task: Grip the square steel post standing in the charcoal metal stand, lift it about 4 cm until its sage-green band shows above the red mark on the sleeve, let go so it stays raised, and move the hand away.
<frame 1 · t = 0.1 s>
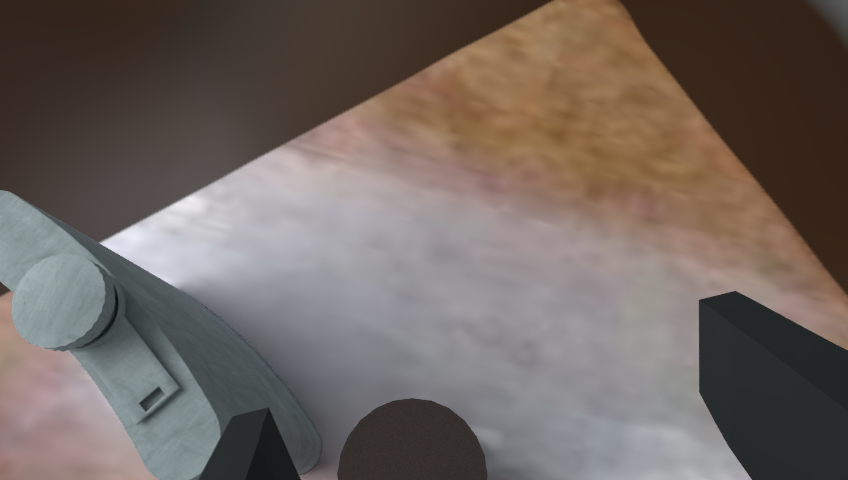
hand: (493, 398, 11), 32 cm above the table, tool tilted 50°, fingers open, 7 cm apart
hip flask: (235, 372, 45), on the table
deodorant: (435, 470, 42), on the table
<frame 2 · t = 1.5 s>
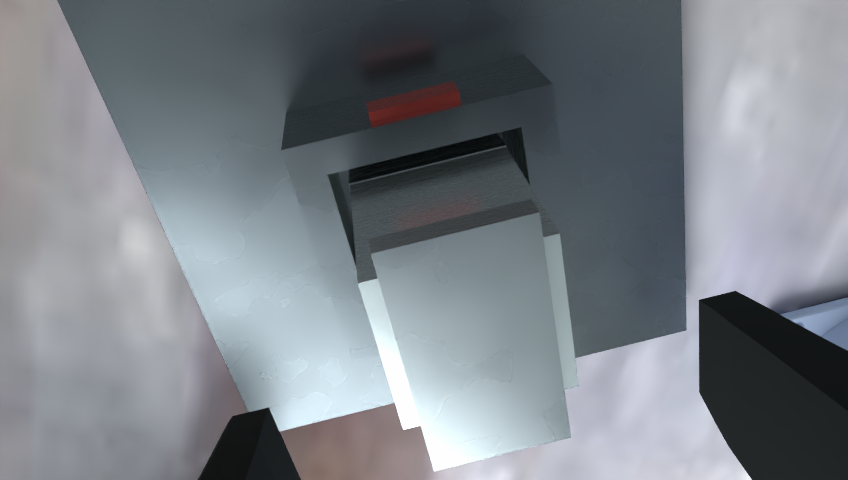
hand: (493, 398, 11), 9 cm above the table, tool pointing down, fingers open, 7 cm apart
column: (450, 256, 15), point 4 cm above the table, slide at 0.0 cm, touching jack stand
jack stand: (424, 175, 19), on the table
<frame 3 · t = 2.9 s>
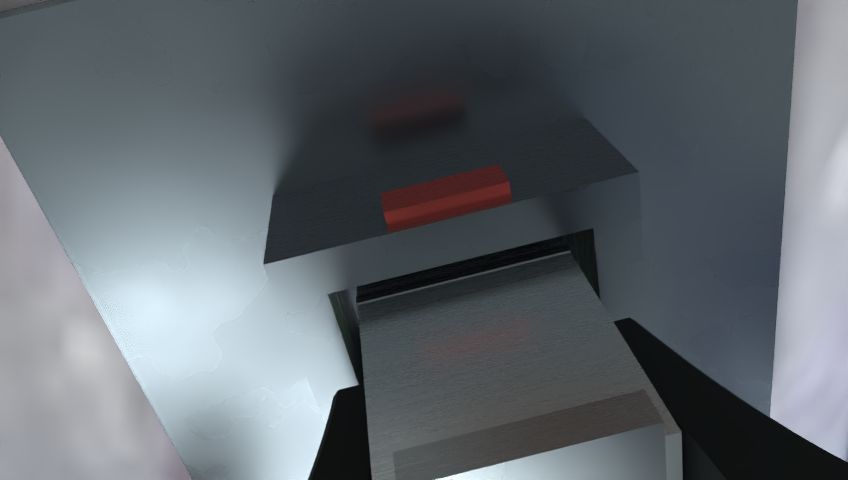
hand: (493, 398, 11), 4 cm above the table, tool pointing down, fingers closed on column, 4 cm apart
column: (495, 402, 11), point 4 cm above the table, slide at 0.0 cm, touching gripper, jack stand
jack stand: (450, 261, 15), on the table
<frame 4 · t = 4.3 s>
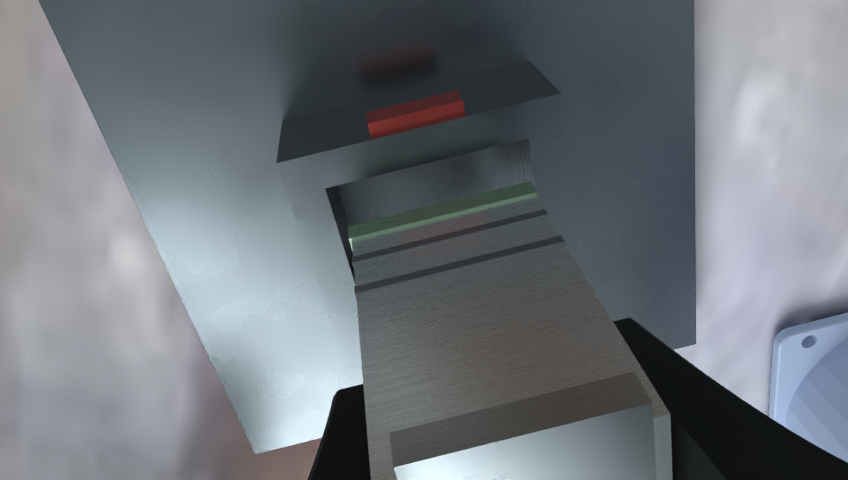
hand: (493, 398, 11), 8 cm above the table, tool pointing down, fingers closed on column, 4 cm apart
column: (490, 390, 12), point 8 cm above the table, slide at 3.7 cm, touching gripper
jack stand: (426, 185, 19), on the table
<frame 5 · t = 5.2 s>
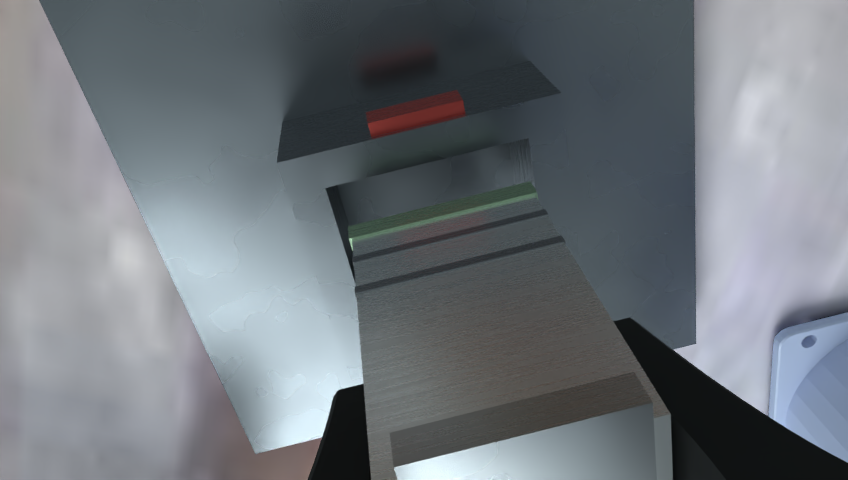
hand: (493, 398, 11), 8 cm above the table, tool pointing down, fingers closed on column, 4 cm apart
column: (490, 390, 12), point 8 cm above the table, slide at 3.7 cm, touching gripper
jack stand: (426, 185, 19), on the table
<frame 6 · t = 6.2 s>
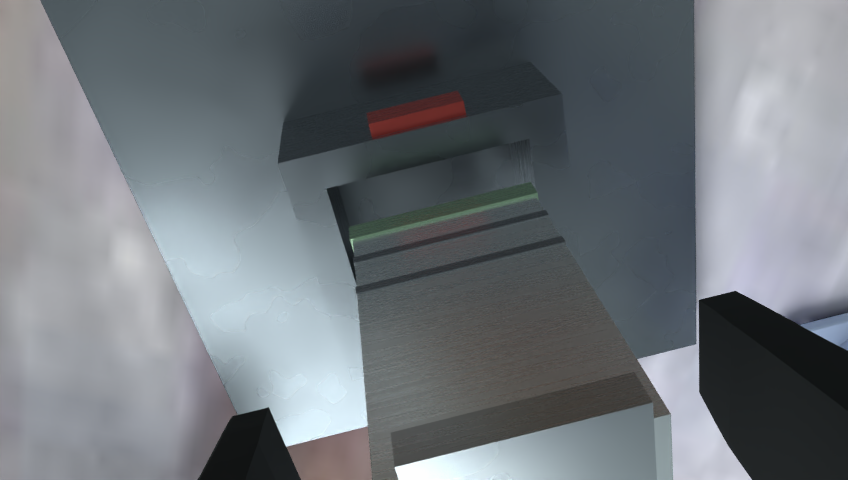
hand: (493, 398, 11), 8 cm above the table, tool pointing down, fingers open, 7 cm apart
column: (491, 390, 12), point 8 cm above the table, slide at 3.7 cm
jack stand: (426, 185, 19), on the table
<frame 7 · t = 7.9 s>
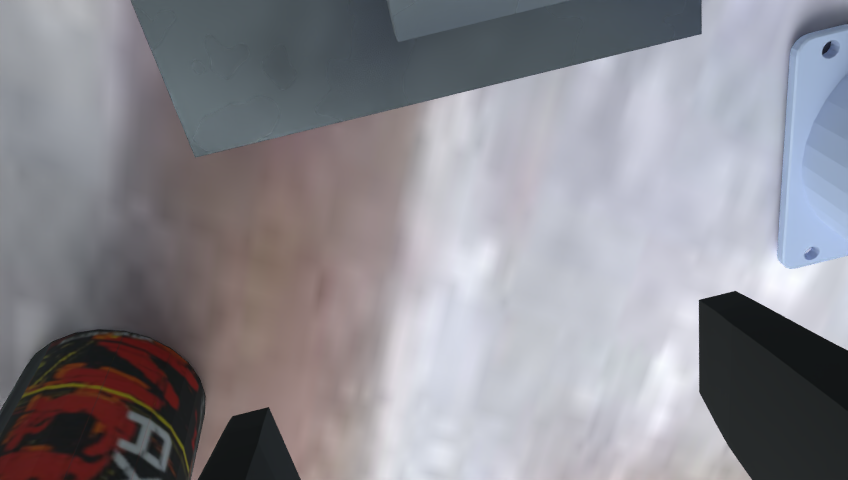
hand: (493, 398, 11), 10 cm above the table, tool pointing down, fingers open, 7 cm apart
deodorant: (116, 396, 24), on the table
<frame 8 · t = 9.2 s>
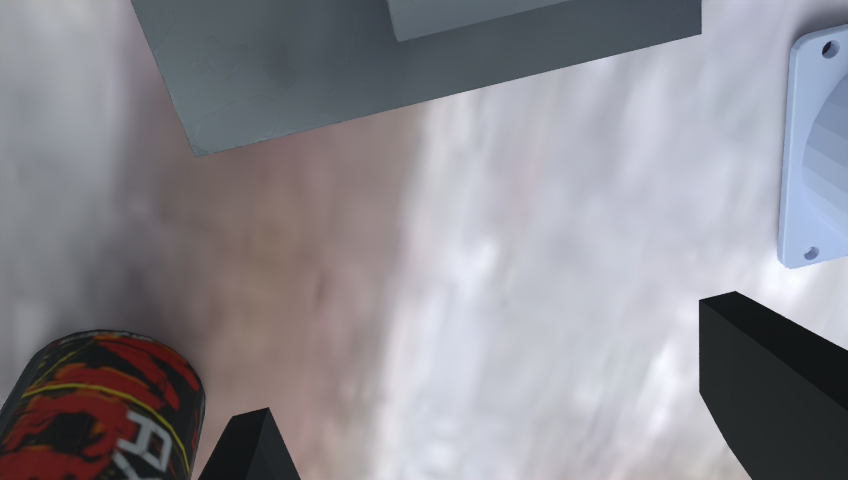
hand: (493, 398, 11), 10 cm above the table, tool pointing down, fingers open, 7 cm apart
deodorant: (116, 396, 24), on the table
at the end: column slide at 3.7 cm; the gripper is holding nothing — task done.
